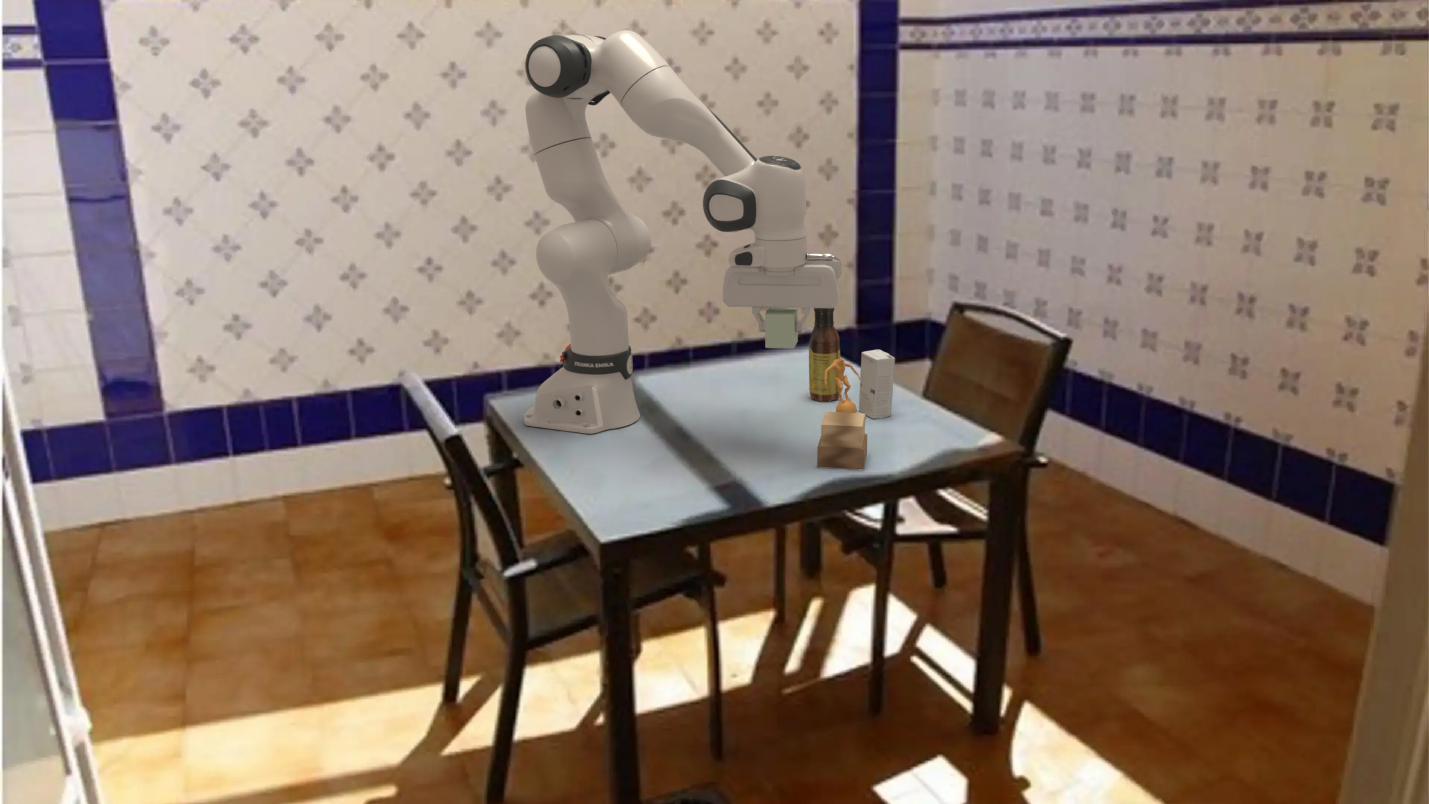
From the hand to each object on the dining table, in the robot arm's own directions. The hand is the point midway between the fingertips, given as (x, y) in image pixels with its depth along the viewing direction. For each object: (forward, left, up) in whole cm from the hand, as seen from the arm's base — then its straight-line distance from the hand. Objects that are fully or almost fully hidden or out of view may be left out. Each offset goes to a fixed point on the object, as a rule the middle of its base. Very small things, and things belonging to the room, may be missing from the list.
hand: (781, 331), depth 207 cm
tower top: (+11, -4, -18) cm, 22 cm away
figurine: (+9, +18, -22) cm, 30 cm away
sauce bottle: (+4, +30, -22) cm, 37 cm away
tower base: (+11, -4, -22) cm, 25 cm away
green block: (0, 0, -2) cm, 2 cm away
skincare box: (+15, +22, -22) cm, 35 cm away
